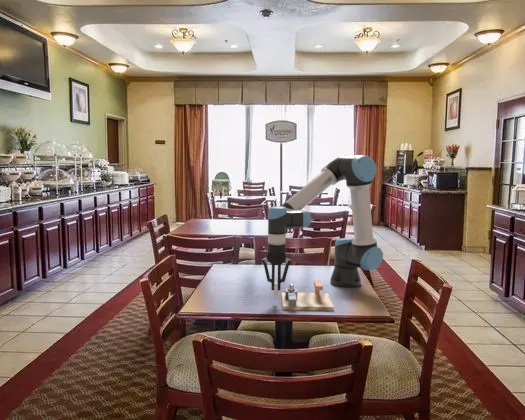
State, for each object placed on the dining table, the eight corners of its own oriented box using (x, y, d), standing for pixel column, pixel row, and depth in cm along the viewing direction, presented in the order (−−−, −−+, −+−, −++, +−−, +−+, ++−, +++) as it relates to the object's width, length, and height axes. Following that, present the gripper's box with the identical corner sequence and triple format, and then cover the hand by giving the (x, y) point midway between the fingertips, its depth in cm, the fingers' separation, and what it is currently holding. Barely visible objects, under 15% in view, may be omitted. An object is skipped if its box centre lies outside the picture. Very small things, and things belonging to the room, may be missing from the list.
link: (285, 294, 207) (285, 288, 206) (296, 295, 207) (296, 288, 206) (286, 305, 191) (286, 298, 191) (298, 306, 191) (298, 299, 191)
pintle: (296, 295, 207) (296, 283, 206) (296, 298, 202) (297, 286, 201) (285, 295, 207) (285, 283, 206) (285, 298, 202) (286, 286, 201)
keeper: (320, 293, 210) (320, 280, 209) (322, 299, 201) (323, 286, 200) (313, 293, 210) (313, 280, 209) (315, 299, 201) (316, 286, 200)
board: (327, 296, 211) (327, 292, 211) (333, 310, 191) (333, 307, 191) (281, 295, 211) (281, 292, 211) (282, 309, 192) (282, 306, 191)
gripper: (291, 241, 199) (290, 295, 202) (261, 241, 199) (260, 294, 202) (292, 245, 192) (291, 300, 194) (261, 244, 192) (260, 300, 195)
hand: (275, 297), depth 198 cm, fingers closed
